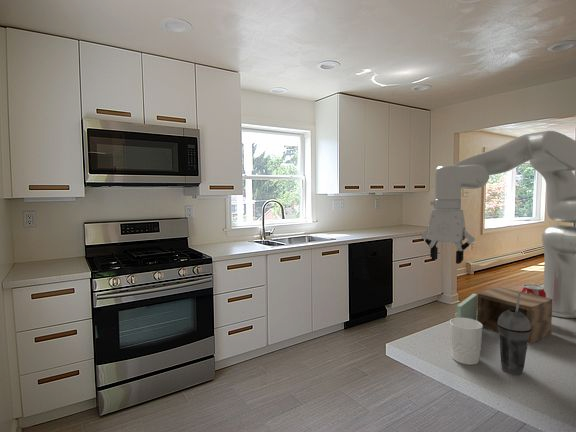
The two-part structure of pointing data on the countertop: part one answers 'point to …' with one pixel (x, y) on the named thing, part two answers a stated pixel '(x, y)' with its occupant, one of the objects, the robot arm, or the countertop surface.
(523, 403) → the countertop surface
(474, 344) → the white cup
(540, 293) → the soda can
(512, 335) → the beverage cup
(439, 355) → the countertop surface
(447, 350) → the countertop surface
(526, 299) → the wooden storage crate
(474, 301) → the door
